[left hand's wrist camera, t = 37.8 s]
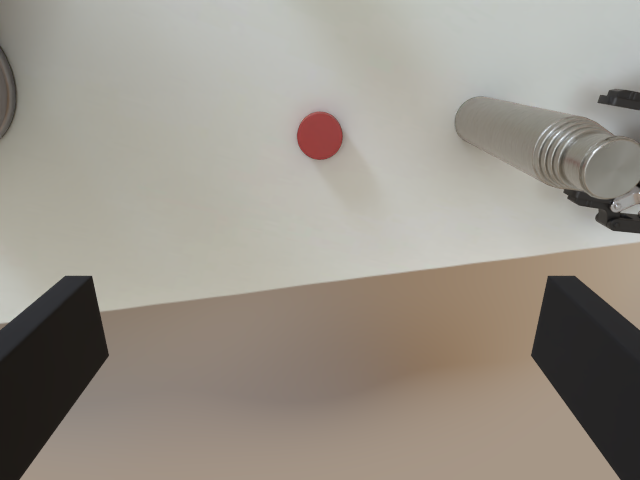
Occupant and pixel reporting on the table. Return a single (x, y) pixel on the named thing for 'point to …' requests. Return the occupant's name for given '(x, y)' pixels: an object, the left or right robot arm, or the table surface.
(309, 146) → the cap
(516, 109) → the bottle
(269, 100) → the table surface
